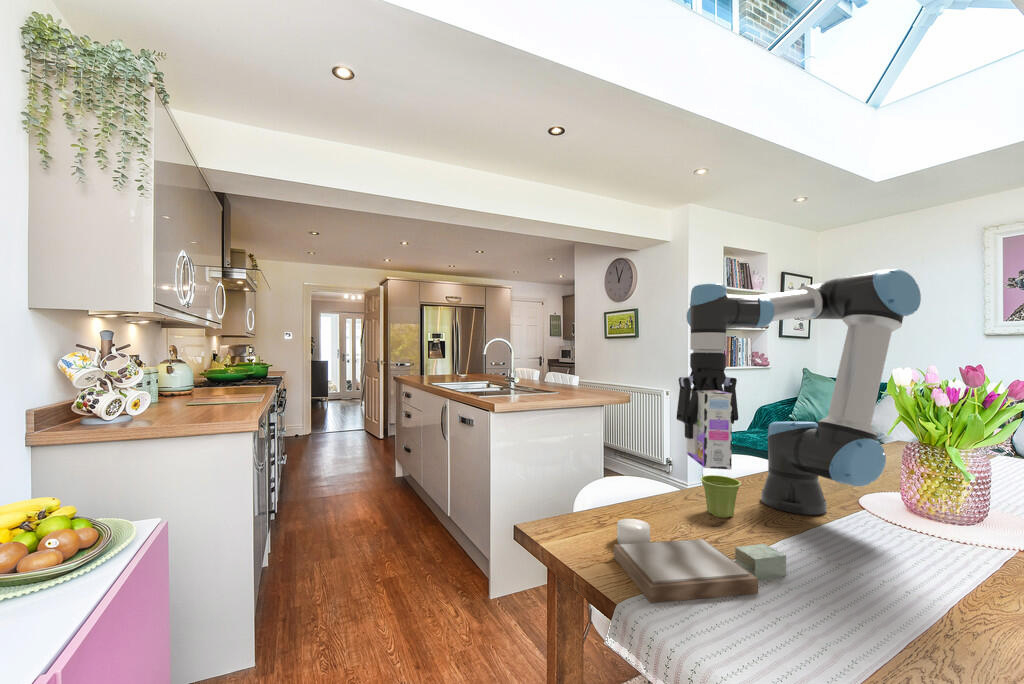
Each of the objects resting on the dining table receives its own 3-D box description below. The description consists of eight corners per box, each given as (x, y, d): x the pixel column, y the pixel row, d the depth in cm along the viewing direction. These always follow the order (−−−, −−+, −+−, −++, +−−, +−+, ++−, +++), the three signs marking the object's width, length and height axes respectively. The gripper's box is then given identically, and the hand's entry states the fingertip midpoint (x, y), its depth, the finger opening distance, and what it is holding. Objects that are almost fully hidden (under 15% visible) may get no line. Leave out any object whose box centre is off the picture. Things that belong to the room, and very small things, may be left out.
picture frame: (703, 551, 91) (703, 536, 91) (758, 593, 75) (758, 576, 75) (613, 557, 88) (613, 542, 88) (650, 602, 72) (650, 584, 72)
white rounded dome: (641, 535, 99) (641, 517, 99) (656, 549, 92) (656, 530, 92) (612, 537, 98) (612, 519, 98) (625, 551, 91) (625, 532, 91)
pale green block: (764, 563, 86) (764, 543, 86) (786, 576, 81) (786, 555, 82) (735, 567, 85) (735, 547, 85) (755, 581, 80) (755, 559, 80)
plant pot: (743, 523, 106) (742, 487, 106) (701, 517, 110) (701, 483, 110) (738, 510, 115) (738, 477, 115) (700, 505, 118) (700, 473, 119)
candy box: (732, 470, 91) (733, 392, 91) (703, 469, 92) (704, 391, 92) (710, 455, 105) (711, 387, 105) (685, 453, 106) (686, 386, 106)
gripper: (733, 352, 105) (733, 447, 104) (659, 351, 100) (658, 450, 100) (757, 352, 97) (757, 454, 97) (679, 351, 93) (678, 458, 92)
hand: (707, 452), depth 98 cm, fingers closed on candy box, 7 cm apart
